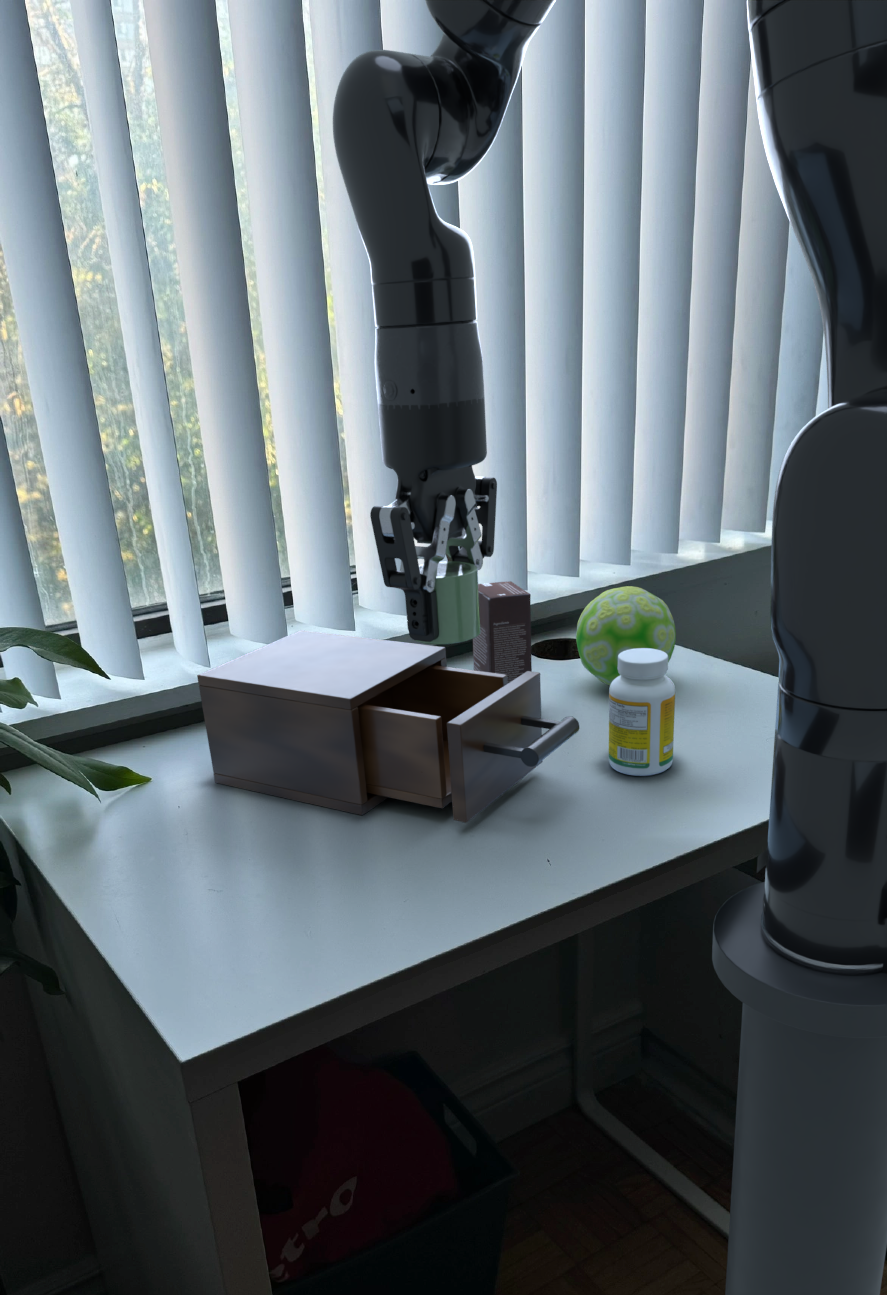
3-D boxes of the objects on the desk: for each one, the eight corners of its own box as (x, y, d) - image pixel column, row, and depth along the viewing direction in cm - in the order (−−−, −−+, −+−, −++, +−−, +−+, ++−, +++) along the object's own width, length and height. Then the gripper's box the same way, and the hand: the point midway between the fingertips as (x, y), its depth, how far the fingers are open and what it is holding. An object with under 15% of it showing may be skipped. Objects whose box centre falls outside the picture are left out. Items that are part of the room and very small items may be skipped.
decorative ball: (556, 686, 110) (554, 589, 106) (626, 663, 115) (626, 570, 111) (626, 709, 103) (626, 607, 99) (697, 684, 108) (700, 585, 104)
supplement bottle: (623, 781, 88) (623, 669, 84) (599, 757, 93) (598, 650, 89) (684, 771, 89) (687, 660, 85) (657, 748, 94) (659, 642, 90)
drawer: (595, 771, 88) (594, 679, 85) (522, 835, 78) (518, 734, 75) (399, 736, 98) (391, 653, 94) (313, 790, 88) (301, 699, 85)
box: (536, 717, 103) (532, 592, 98) (490, 724, 102) (484, 598, 97) (516, 697, 108) (512, 578, 103) (473, 703, 107) (466, 584, 102)
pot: (493, 627, 83) (490, 563, 81) (457, 647, 79) (453, 580, 77) (434, 621, 86) (430, 559, 84) (396, 640, 82) (391, 575, 80)
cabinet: (452, 753, 96) (445, 647, 92) (362, 815, 85) (350, 699, 81) (313, 728, 104) (300, 629, 100) (214, 782, 93) (196, 675, 89)
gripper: (420, 405, 68) (437, 662, 75) (526, 383, 79) (532, 608, 86) (325, 406, 72) (350, 650, 79) (439, 385, 83) (452, 601, 90)
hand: (445, 627), depth 82 cm, fingers closed on pot, 5 cm apart
